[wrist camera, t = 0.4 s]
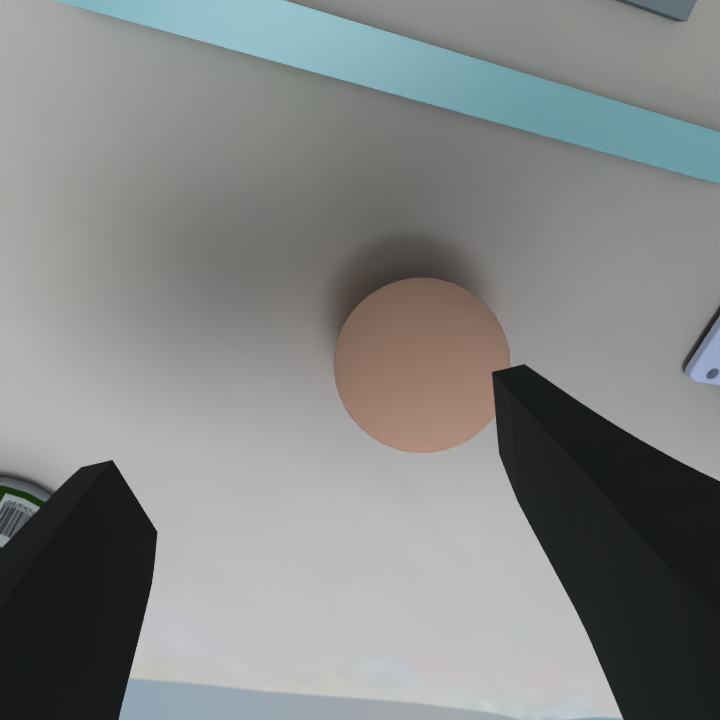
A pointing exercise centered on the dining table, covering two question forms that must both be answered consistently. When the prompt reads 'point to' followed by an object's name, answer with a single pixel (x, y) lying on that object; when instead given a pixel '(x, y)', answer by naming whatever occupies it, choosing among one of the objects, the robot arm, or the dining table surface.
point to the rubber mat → (666, 7)
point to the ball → (420, 364)
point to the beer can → (17, 505)
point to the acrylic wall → (429, 76)
